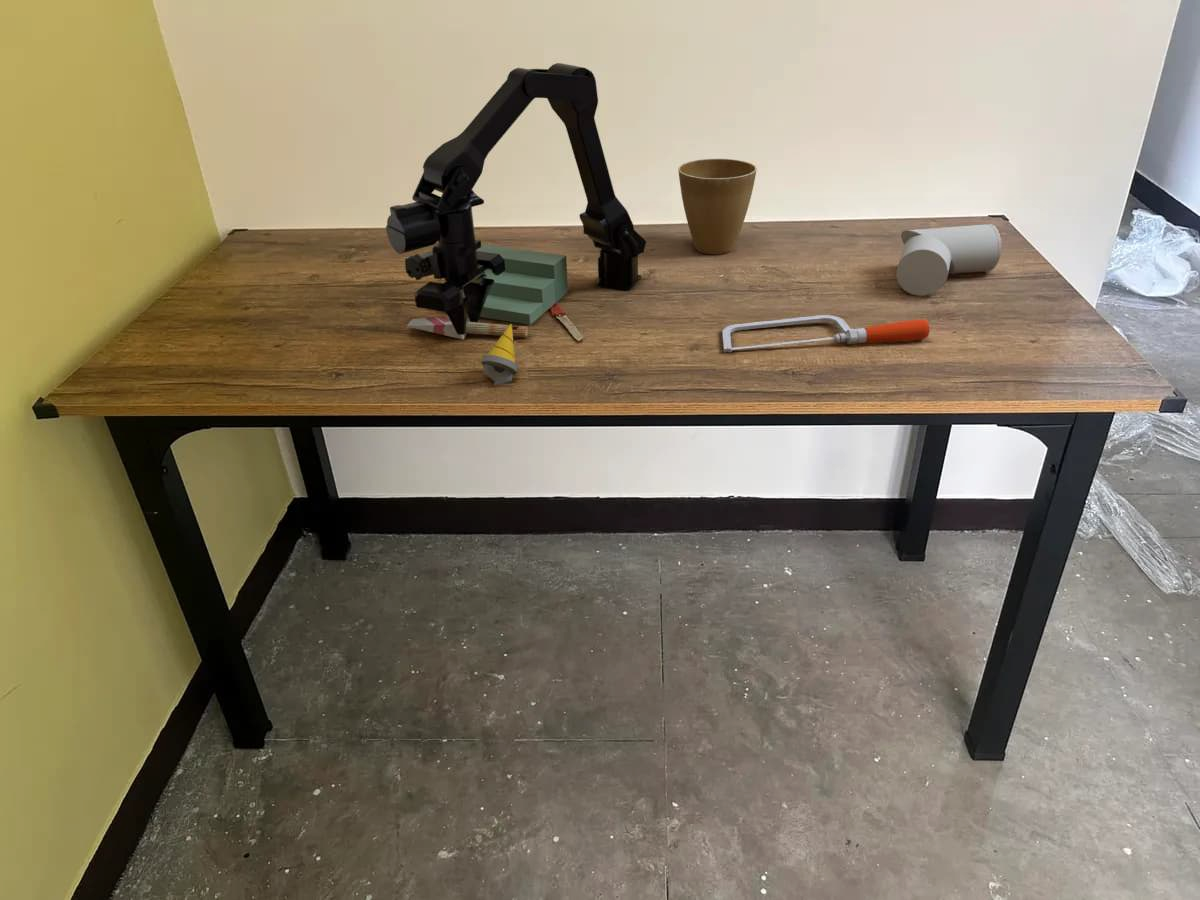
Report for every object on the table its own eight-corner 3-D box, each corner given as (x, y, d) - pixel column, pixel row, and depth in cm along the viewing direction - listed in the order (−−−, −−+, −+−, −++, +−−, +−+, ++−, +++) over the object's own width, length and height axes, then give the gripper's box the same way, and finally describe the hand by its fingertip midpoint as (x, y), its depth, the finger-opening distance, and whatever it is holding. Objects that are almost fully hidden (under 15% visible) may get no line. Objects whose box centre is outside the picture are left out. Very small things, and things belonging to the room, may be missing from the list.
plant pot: (765, 245, 179) (771, 164, 170) (723, 267, 169) (728, 183, 161) (704, 230, 187) (707, 153, 178) (661, 250, 178) (662, 170, 169)
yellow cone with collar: (473, 383, 134) (490, 322, 136) (506, 394, 135) (523, 333, 137) (480, 376, 129) (498, 313, 131) (514, 387, 130) (532, 324, 132)
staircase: (568, 292, 161) (566, 255, 157) (530, 325, 150) (527, 286, 146) (481, 279, 167) (478, 243, 164) (439, 310, 156) (434, 272, 152)
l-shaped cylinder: (895, 246, 172) (881, 284, 157) (916, 194, 166) (904, 228, 151) (986, 276, 169) (981, 317, 153) (1011, 224, 162) (1009, 262, 147)
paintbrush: (412, 309, 149) (529, 320, 146) (413, 324, 150) (529, 335, 147) (404, 318, 145) (523, 329, 143) (405, 334, 147) (523, 345, 144)
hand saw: (725, 345, 137) (712, 319, 145) (725, 363, 138) (712, 336, 147) (932, 323, 138) (907, 299, 147) (929, 341, 140) (905, 316, 148)
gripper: (443, 213, 148) (454, 301, 156) (378, 251, 134) (394, 345, 142) (502, 220, 144) (510, 309, 153) (441, 260, 130) (453, 356, 138)
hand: (467, 328), depth 146 cm, fingers closed on paintbrush, 4 cm apart
